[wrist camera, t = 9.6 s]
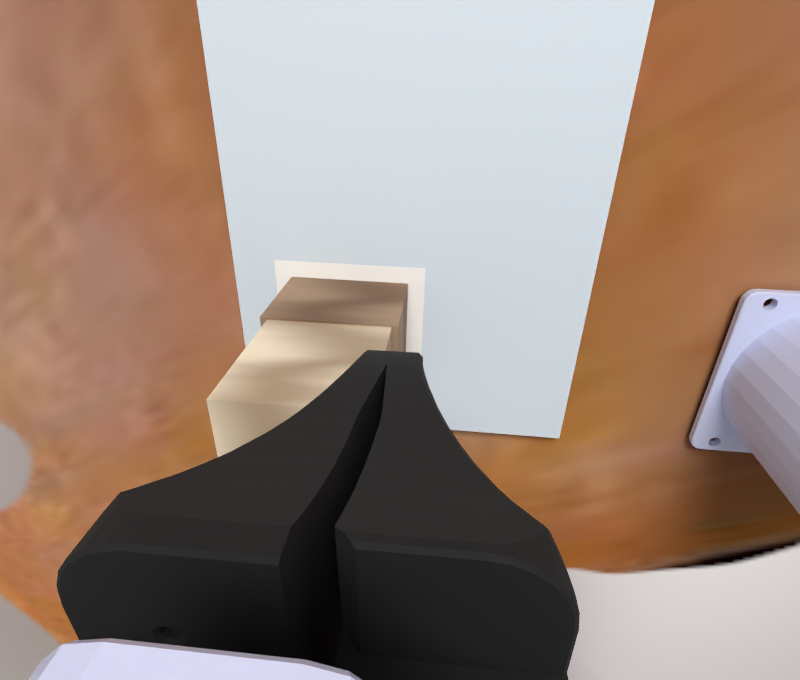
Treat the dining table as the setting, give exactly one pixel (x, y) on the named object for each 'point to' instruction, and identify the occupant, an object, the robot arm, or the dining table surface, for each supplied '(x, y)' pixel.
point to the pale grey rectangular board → (432, 173)
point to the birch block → (284, 375)
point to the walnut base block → (343, 304)
